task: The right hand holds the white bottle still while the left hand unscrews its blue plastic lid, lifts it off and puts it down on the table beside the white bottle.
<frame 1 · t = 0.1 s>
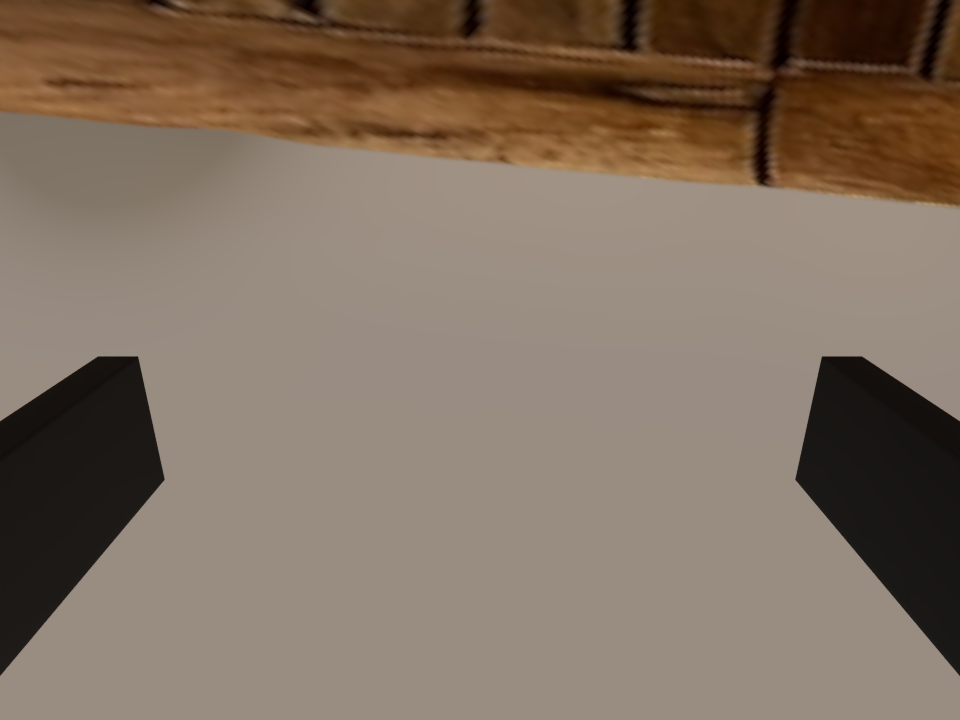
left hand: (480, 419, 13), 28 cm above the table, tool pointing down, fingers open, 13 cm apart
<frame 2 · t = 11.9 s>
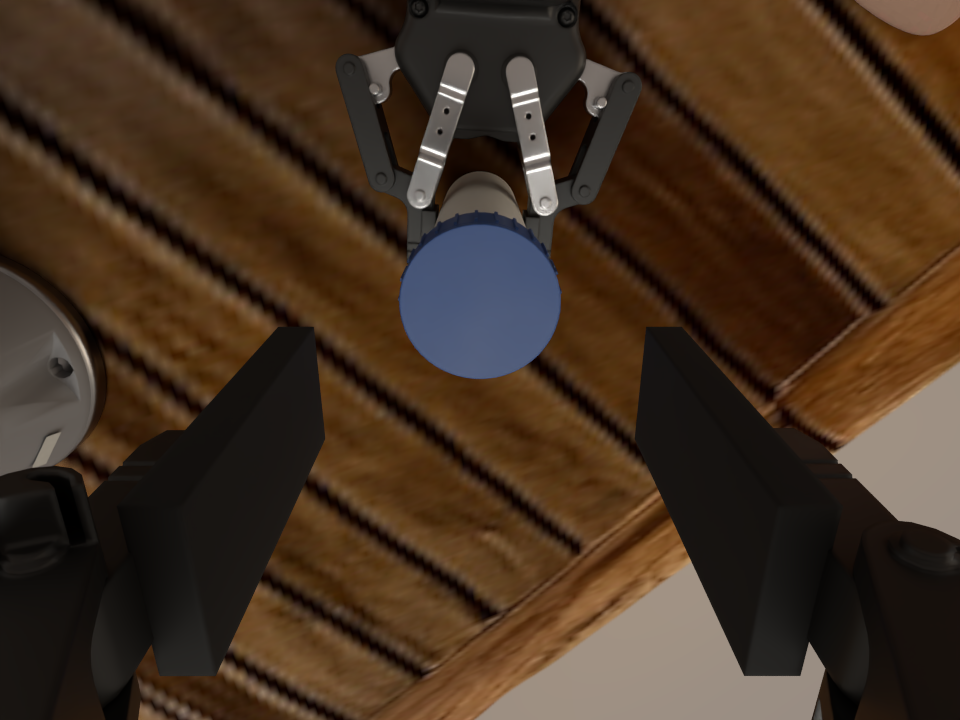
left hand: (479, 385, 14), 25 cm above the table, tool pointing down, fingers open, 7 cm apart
right hand: (477, 282, 32), fingers closed on white bottle, 4 cm apart
lid: (479, 302, 20), point 19 cm above the table, screwed on, not yet turned
white bottle: (480, 208, 37), on the table, touching right hand
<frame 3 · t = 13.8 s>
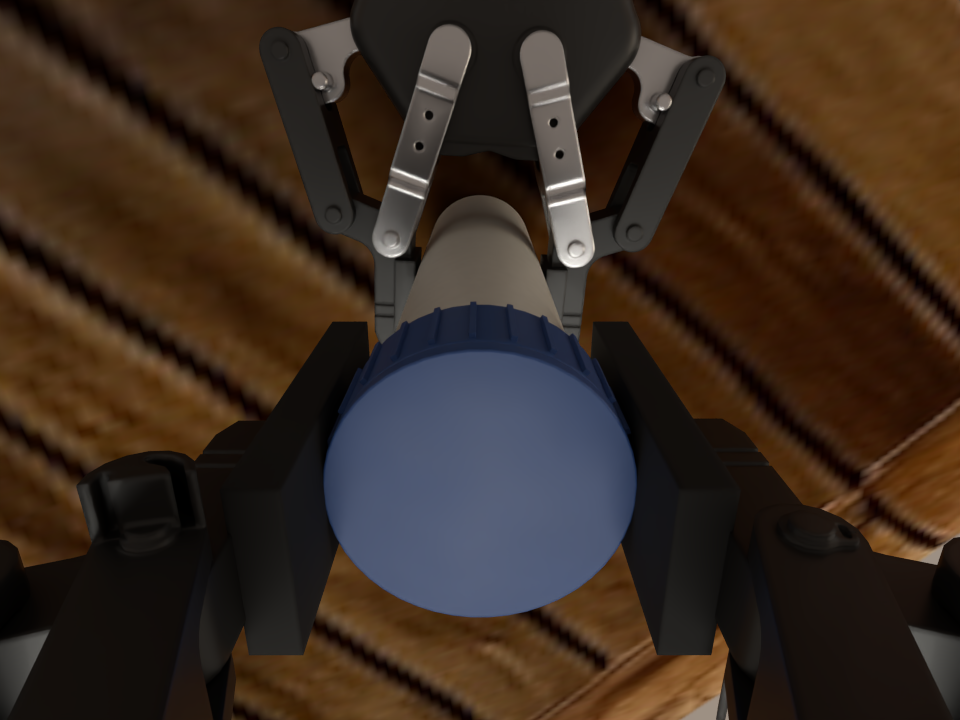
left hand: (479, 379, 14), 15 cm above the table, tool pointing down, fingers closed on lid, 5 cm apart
right hand: (476, 356, 23), fingers closed on white bottle, 4 cm apart
lid: (480, 484, 10), point 19 cm above the table, screwed on, not yet turned, touching left hand
white bottle: (479, 244, 28), on the table, touching right hand
when the left hand's fingers open (15 cm above the table, at t = 15.0 s): lid stays where it is, point 19 cm above the table.
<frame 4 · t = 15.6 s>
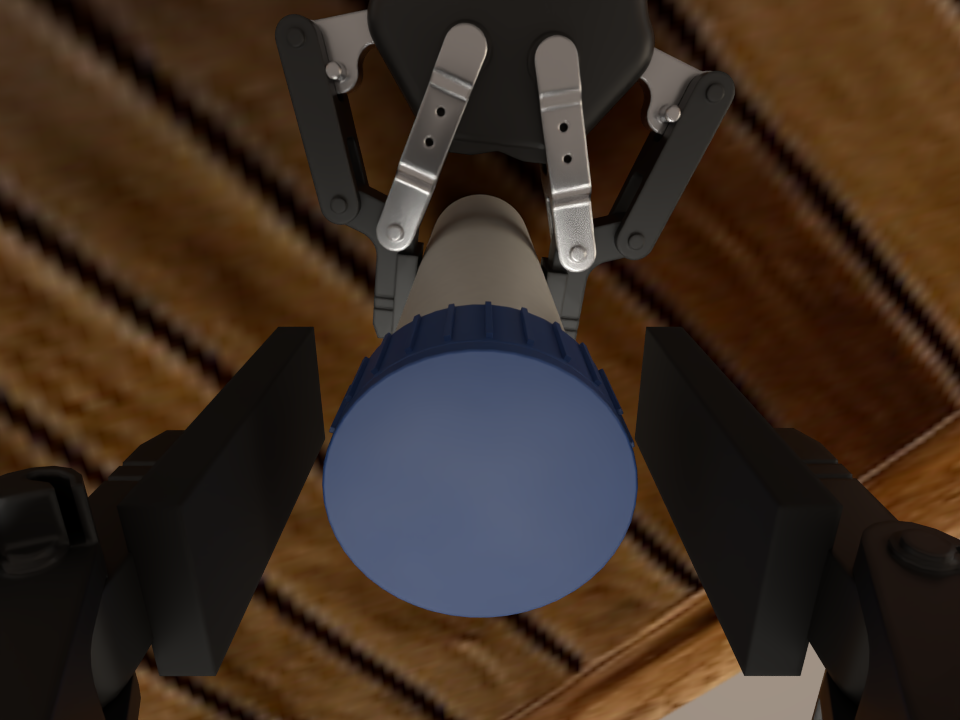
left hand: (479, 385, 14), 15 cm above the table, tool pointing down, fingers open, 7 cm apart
right hand: (472, 354, 23), fingers closed on white bottle, 4 cm apart
lid: (480, 484, 10), point 19 cm above the table, turned 55° so far, risen 0.2 cm, still on its thread
white bottle: (480, 243, 28), on the table, touching right hand
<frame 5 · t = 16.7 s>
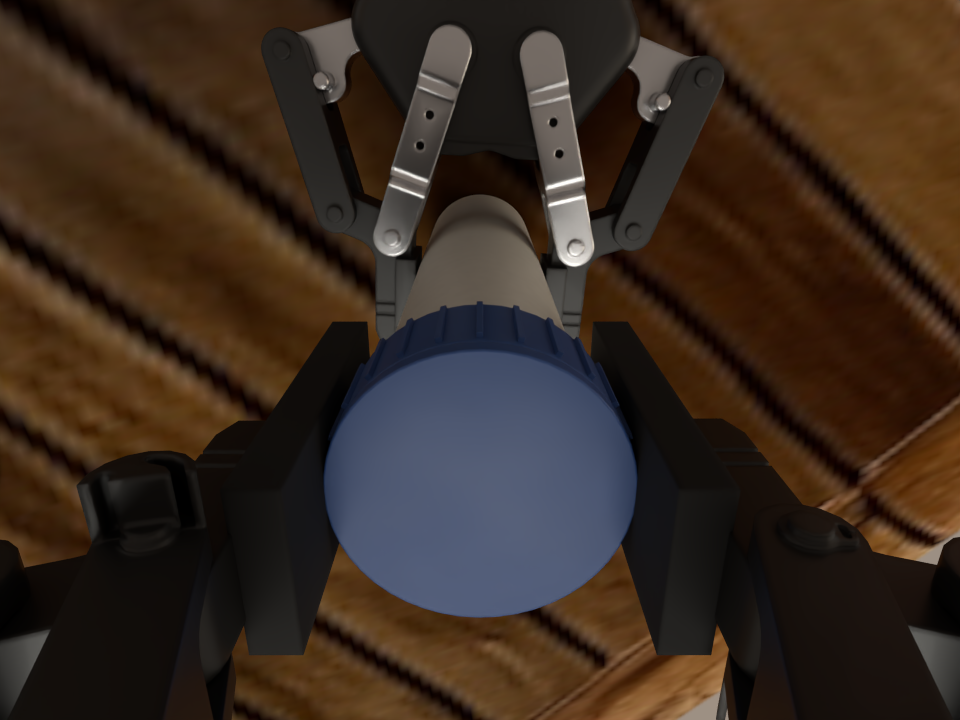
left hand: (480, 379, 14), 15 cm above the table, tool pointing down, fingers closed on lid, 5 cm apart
right hand: (476, 354, 23), fingers closed on white bottle, 4 cm apart
lid: (480, 484, 10), point 19 cm above the table, turned 55° so far, risen 0.2 cm, still on its thread, touching left hand
white bottle: (480, 243, 28), on the table, touching right hand
when the left hand's fingers open (0 cm above the table, at t = 23.0 s): lid drops 3 cm, point 2 cm above the table.
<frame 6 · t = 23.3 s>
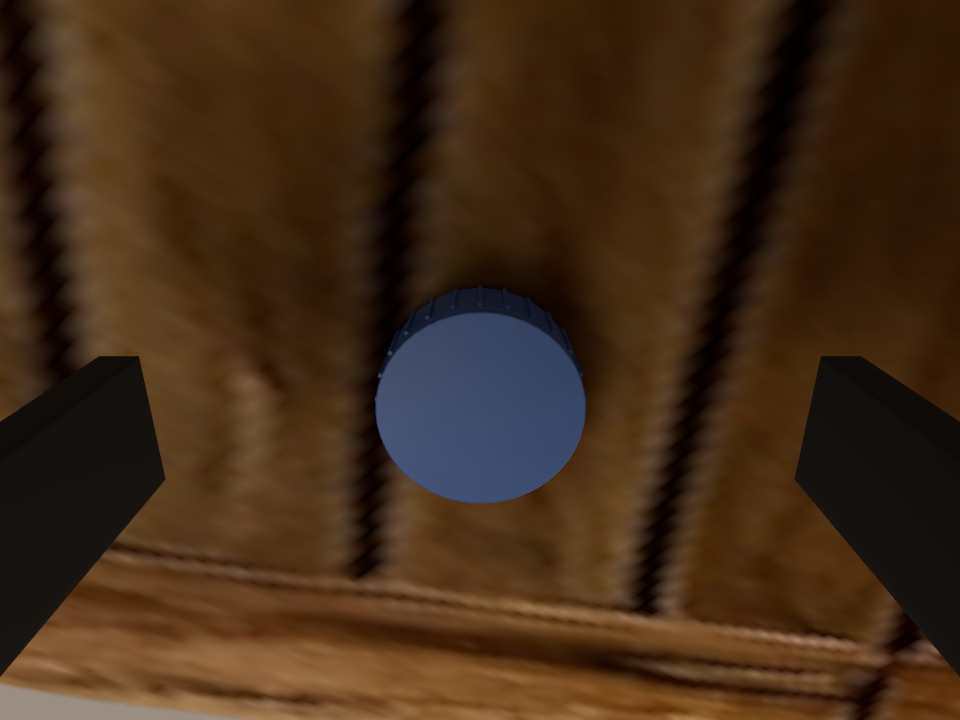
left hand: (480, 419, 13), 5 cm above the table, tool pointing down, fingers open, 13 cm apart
lid: (480, 407, 15), point 2 cm above the table, off its thread
when the right hand's fingers open (7 cm above the table, at t = 23.6 s): white bottle stays where it is, on the table.
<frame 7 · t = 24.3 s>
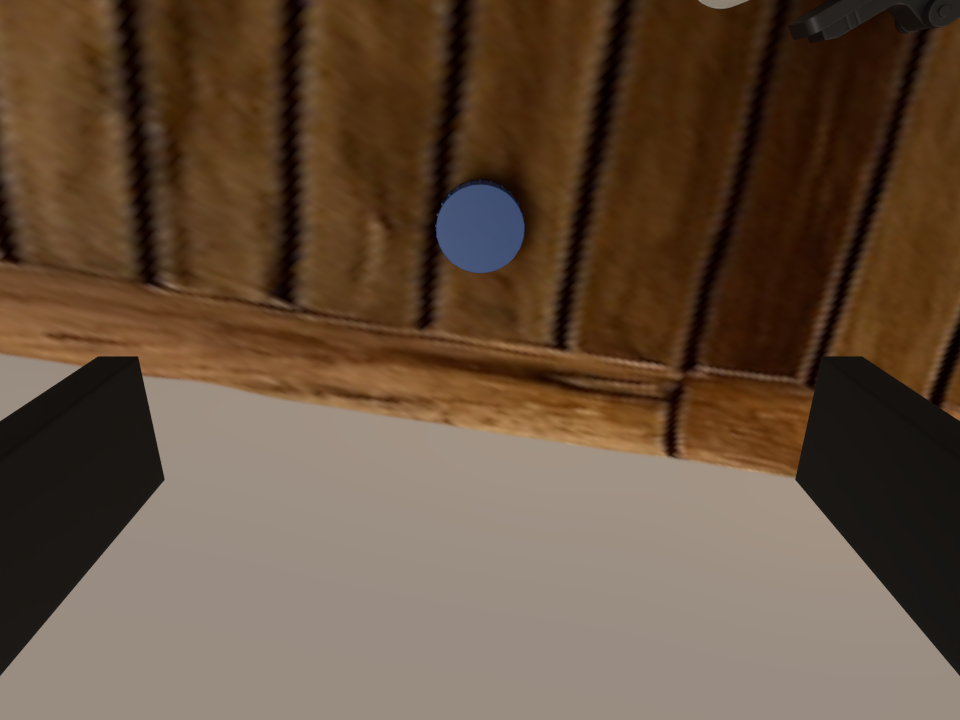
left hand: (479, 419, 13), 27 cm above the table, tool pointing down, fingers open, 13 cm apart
lid: (480, 228, 36), point 2 cm above the table, off its thread
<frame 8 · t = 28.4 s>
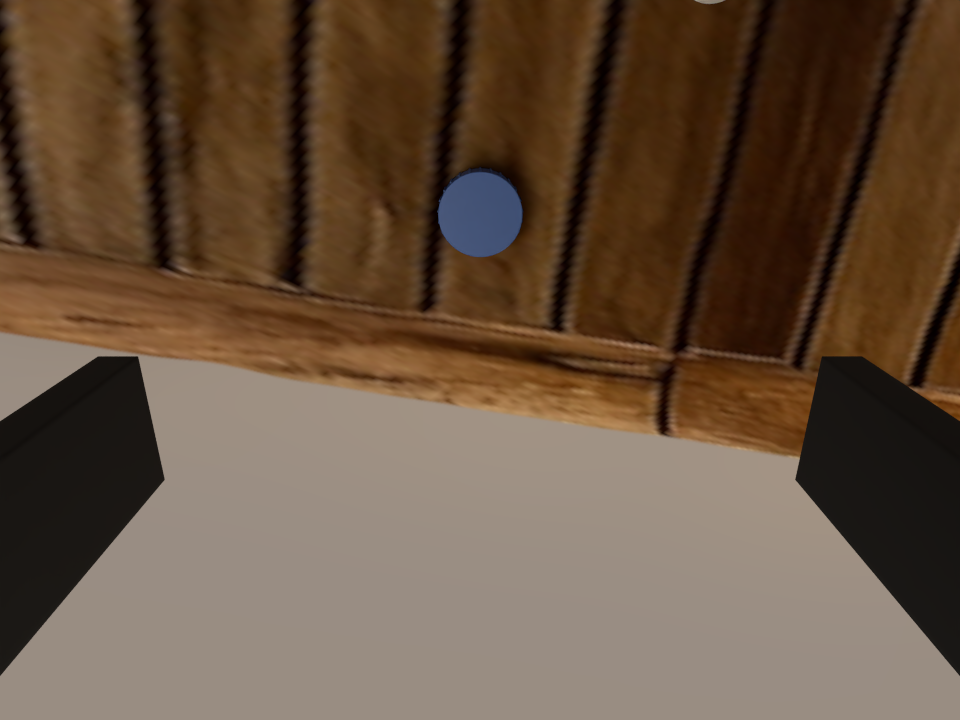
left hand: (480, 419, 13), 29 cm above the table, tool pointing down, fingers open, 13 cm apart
lid: (480, 214, 38), point 2 cm above the table, off its thread
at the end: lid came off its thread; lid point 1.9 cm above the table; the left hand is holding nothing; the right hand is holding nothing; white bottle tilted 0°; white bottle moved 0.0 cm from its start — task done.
